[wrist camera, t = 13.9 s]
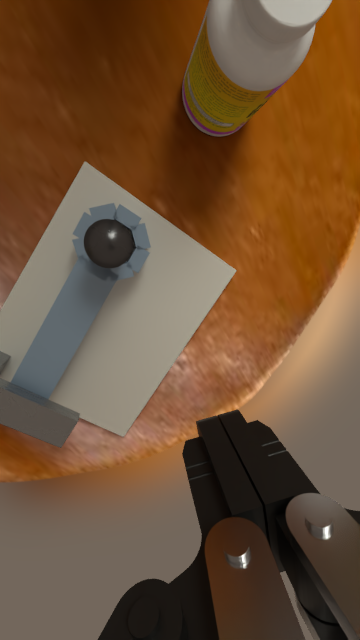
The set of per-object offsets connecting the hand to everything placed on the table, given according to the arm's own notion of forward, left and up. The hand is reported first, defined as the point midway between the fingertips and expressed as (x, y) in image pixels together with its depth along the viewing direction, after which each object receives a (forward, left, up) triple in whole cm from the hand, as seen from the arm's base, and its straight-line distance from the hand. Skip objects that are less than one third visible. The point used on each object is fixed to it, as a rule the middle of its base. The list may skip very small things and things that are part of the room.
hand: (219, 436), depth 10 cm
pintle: (-3, -7, -21) cm, 22 cm away
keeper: (+13, -7, -21) cm, 26 cm away
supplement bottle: (-19, -6, -21) cm, 29 cm away
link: (+3, -7, -20) cm, 21 cm away
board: (+4, -4, -21) cm, 22 cm away
